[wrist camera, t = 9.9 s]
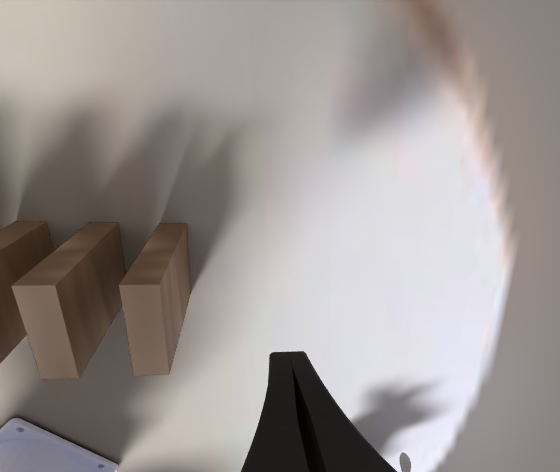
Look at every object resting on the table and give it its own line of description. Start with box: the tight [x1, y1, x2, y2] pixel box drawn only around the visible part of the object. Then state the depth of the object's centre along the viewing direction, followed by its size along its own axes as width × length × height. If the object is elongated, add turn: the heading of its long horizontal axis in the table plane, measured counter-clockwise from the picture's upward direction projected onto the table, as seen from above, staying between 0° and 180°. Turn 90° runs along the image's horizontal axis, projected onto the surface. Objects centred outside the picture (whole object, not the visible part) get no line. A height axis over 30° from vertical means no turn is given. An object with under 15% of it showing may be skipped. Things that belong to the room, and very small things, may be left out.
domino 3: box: [119, 223, 191, 376], centre depth 17 cm, size 2×5×7 cm, turn 176°
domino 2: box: [12, 222, 126, 380], centre depth 17 cm, size 2×5×7 cm, turn 176°
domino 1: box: [0, 221, 54, 363], centre depth 16 cm, size 2×5×7 cm, turn 176°
